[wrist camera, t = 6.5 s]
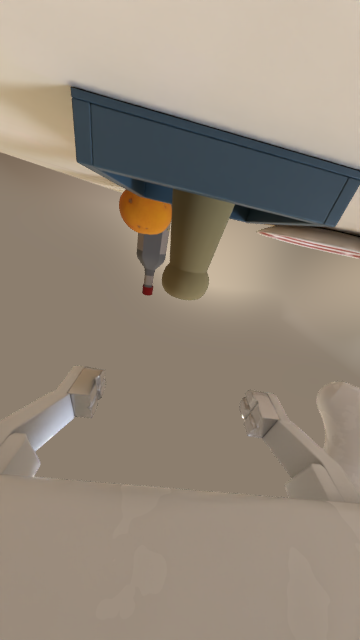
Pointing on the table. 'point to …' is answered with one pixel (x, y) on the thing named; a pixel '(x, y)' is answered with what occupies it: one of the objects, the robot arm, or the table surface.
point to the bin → (207, 165)
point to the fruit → (144, 213)
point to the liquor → (151, 255)
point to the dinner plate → (315, 239)
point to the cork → (193, 242)
